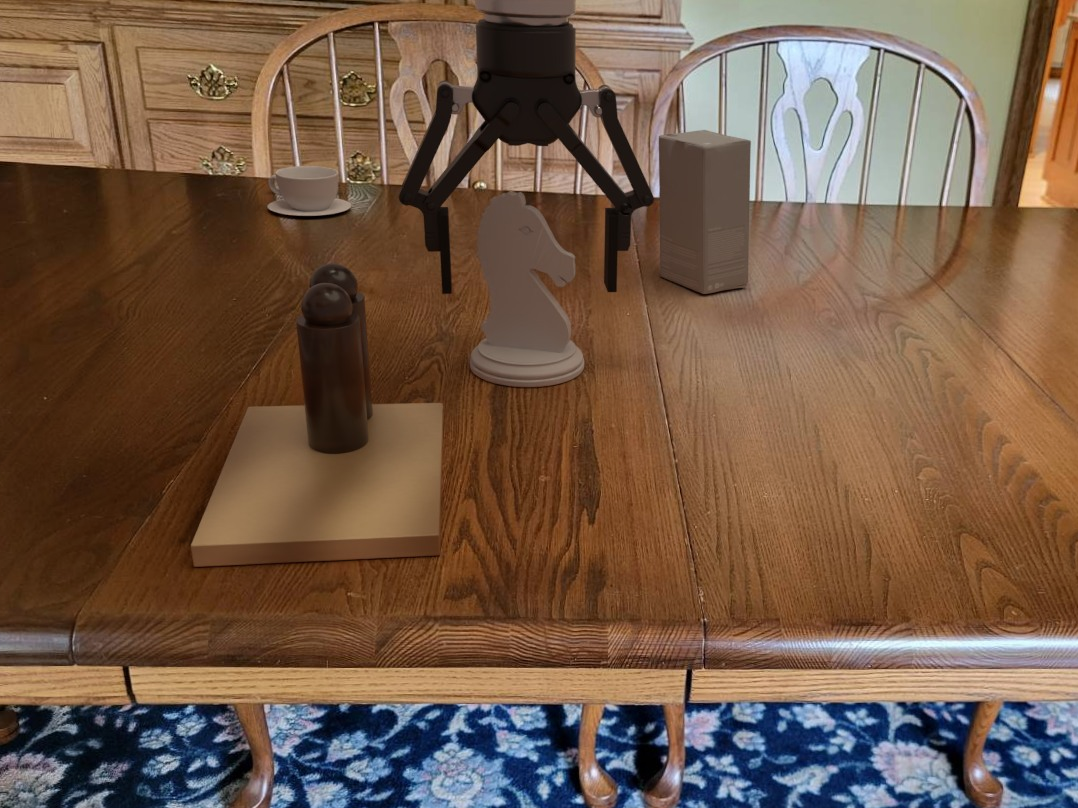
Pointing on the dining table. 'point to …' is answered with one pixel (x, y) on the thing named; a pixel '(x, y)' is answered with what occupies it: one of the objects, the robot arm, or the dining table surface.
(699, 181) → the cosmetic box
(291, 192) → the teacup
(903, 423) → the dining table surface
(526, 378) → the chess piece
